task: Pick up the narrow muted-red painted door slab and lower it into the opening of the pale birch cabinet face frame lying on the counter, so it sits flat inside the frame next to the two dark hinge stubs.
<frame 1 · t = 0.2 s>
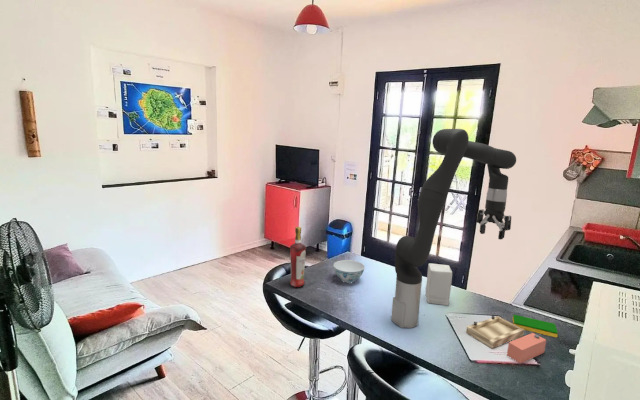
hand: (491, 236, 145), 29 cm above the breakfast bar, tool pointing down, fingers open, 8 cm apart
dish sponge: (533, 329, 129), on the breakfast bar
liquor: (297, 285, 159), on the breakfast bar
chinaware: (348, 280, 166), on the breakfast bar
supplement box: (436, 300, 149), on the breakfast bar
face frame: (494, 334, 123), on the breakfast bar
door: (525, 354, 112), on the breakfast bar
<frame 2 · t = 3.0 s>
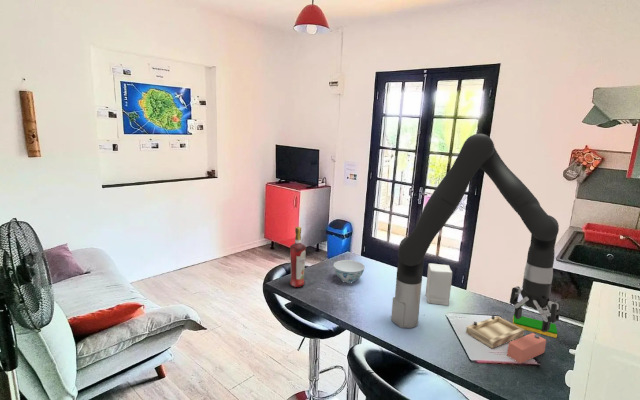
hand: (530, 324, 111), 11 cm above the breakfast bar, tool pointing down, fingers open, 8 cm apart
nothing on the breakfast bar moved.
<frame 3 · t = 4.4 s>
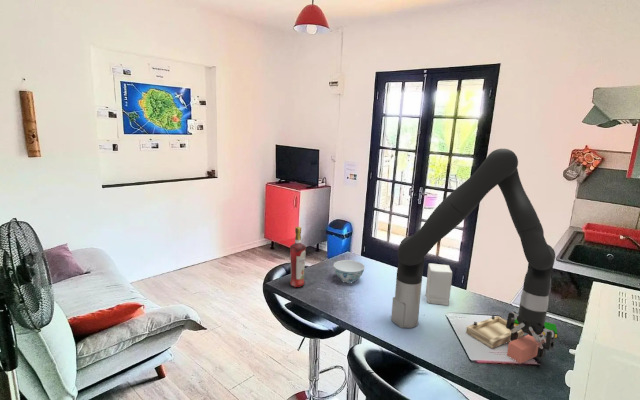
hand: (526, 350, 112), 1 cm above the breakfast bar, tool pointing down, fingers open, 8 cm apart
nothing on the breakfast bar moved.
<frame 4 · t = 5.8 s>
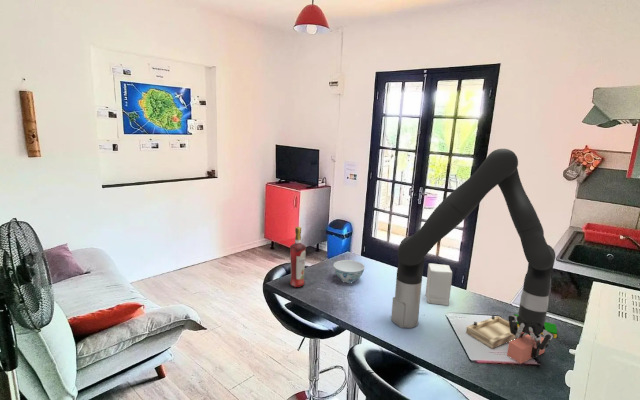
hand: (526, 352, 112), 1 cm above the breakfast bar, tool pointing down, fingers closed on door, 4 cm apart
door: (525, 354, 112), on the breakfast bar, touching gripper
everything else where it was.
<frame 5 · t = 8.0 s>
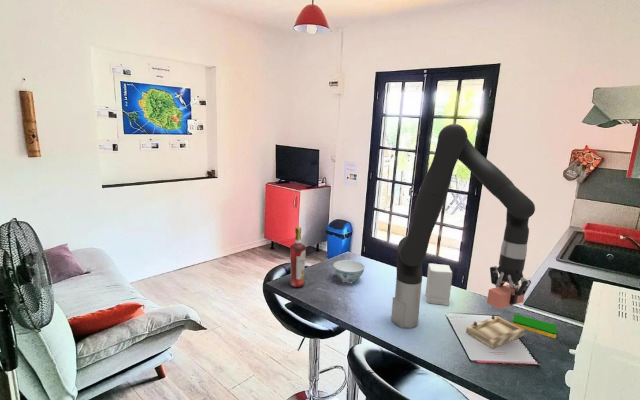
hand: (505, 300, 118), 15 cm above the breakfast bar, tool pointing down, fingers closed on door, 4 cm apart
door: (505, 302, 118), point 14 cm above the breakfast bar, touching gripper
everything else where it was.
when the fingers open (3 cm above the breakfast bar, at t = 10.3 s): door drops 1 cm, resting on face frame.
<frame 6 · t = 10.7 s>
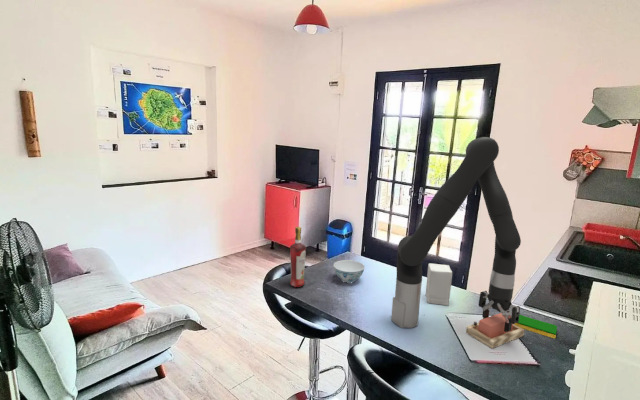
hand: (495, 325, 123), 4 cm above the breakfast bar, tool pointing down, fingers open, 8 cm apart
door: (495, 331, 123), point 1 cm above the breakfast bar, touching face frame
everything else where it was.
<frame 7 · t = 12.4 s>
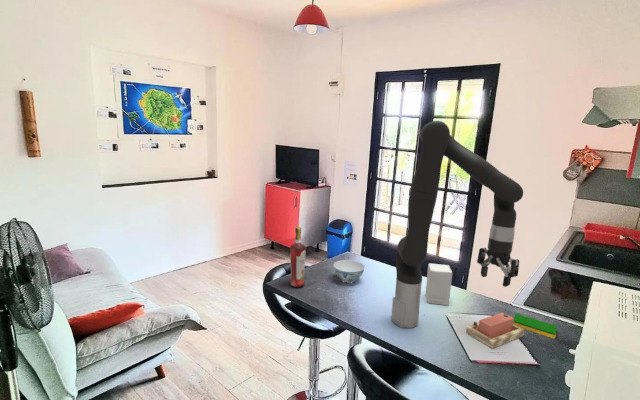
hand: (494, 281, 121), 20 cm above the breakfast bar, tool pointing down, fingers open, 8 cm apart
nothing on the breakfast bar moved.
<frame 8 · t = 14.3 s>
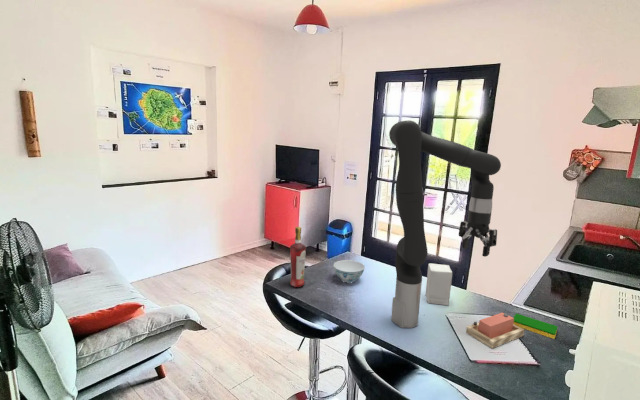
hand: (474, 252, 126), 28 cm above the breakfast bar, tool pointing down, fingers open, 8 cm apart
nothing on the breakfast bar moved.
at the end: door 0.1 cm off-centre on the face frame, point 1.0 cm above the face frame's base; door tilted 0°; the gripper is holding nothing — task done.
